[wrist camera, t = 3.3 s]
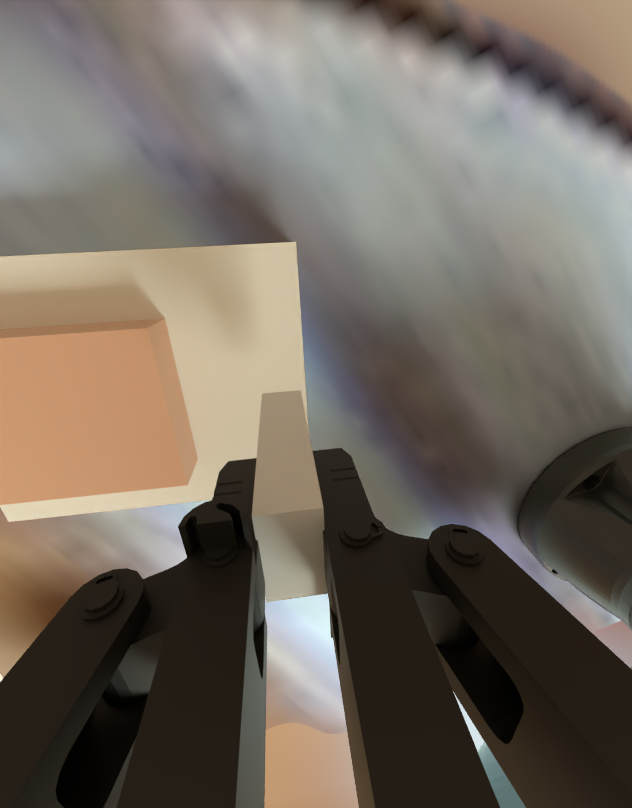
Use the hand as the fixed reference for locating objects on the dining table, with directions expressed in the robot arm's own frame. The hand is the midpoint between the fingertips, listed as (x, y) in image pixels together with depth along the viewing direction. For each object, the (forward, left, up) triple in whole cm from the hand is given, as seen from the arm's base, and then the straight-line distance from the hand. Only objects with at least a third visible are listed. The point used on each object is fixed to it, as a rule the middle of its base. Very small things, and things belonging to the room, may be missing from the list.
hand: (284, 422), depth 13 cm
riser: (+8, 0, -9) cm, 12 cm away
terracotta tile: (+10, 0, -5) cm, 11 cm away
